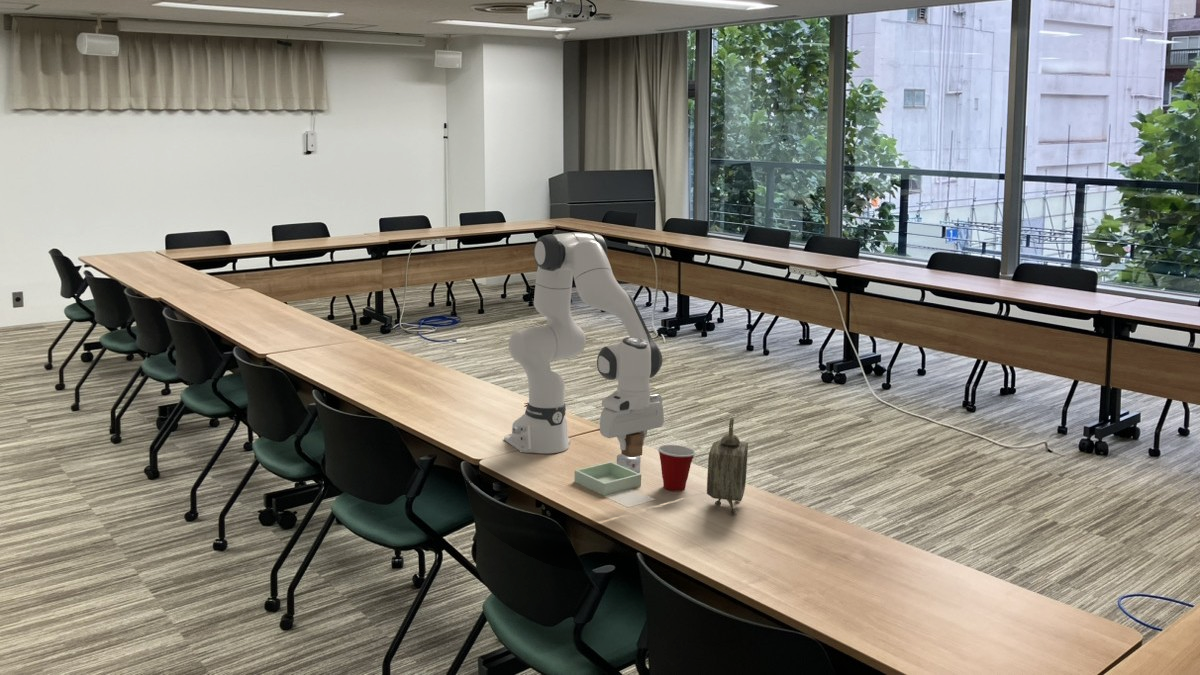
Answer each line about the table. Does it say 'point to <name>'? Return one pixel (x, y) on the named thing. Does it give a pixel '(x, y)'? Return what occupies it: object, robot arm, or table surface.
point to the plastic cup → (675, 465)
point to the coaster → (629, 498)
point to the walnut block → (633, 445)
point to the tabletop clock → (727, 469)
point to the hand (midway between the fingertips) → (631, 447)
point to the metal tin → (629, 462)
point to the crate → (607, 478)
